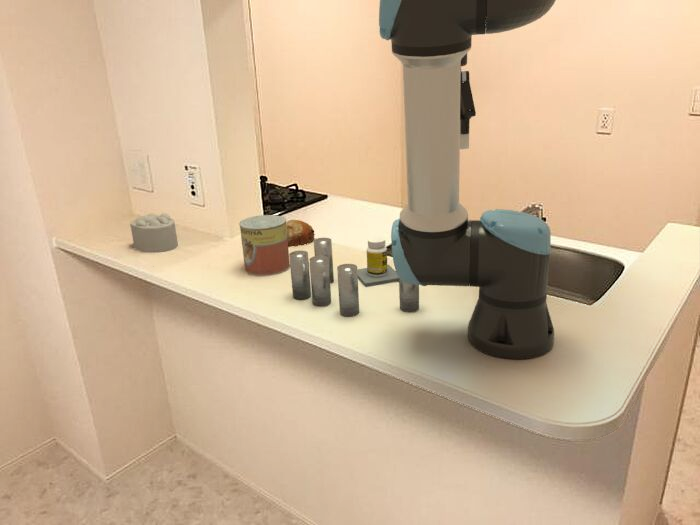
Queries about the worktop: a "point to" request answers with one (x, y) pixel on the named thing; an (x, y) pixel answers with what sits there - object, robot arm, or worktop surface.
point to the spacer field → (346, 281)
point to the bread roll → (299, 233)
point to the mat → (371, 281)
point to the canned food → (265, 245)
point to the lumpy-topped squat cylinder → (154, 233)
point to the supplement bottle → (376, 257)
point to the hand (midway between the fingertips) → (448, 144)
